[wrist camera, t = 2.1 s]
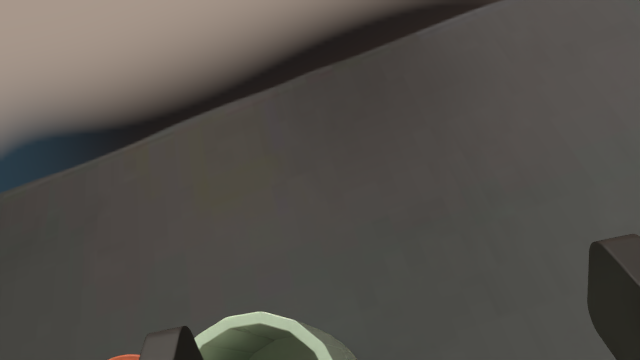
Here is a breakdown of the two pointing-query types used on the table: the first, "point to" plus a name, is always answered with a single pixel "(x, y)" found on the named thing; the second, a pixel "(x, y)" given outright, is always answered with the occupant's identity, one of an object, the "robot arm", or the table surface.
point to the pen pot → (268, 340)
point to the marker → (126, 357)
